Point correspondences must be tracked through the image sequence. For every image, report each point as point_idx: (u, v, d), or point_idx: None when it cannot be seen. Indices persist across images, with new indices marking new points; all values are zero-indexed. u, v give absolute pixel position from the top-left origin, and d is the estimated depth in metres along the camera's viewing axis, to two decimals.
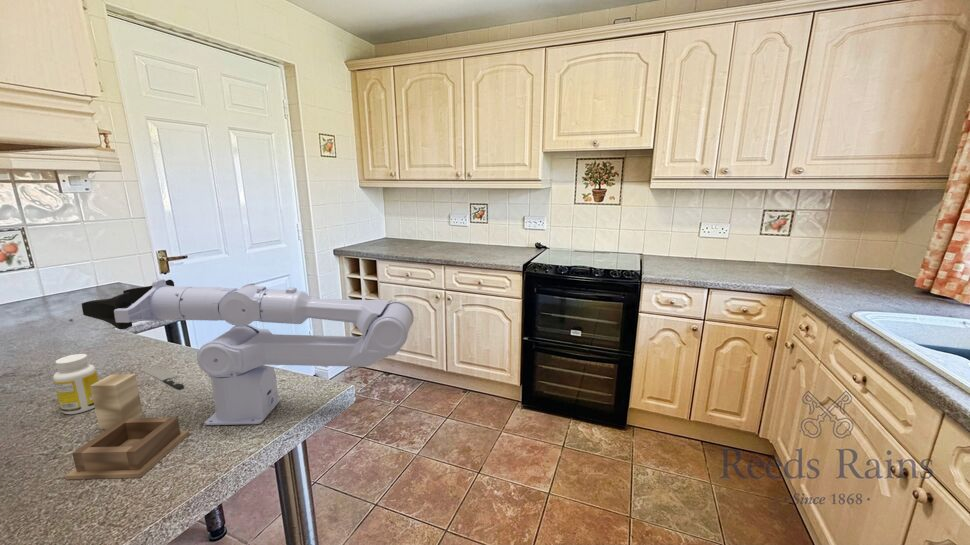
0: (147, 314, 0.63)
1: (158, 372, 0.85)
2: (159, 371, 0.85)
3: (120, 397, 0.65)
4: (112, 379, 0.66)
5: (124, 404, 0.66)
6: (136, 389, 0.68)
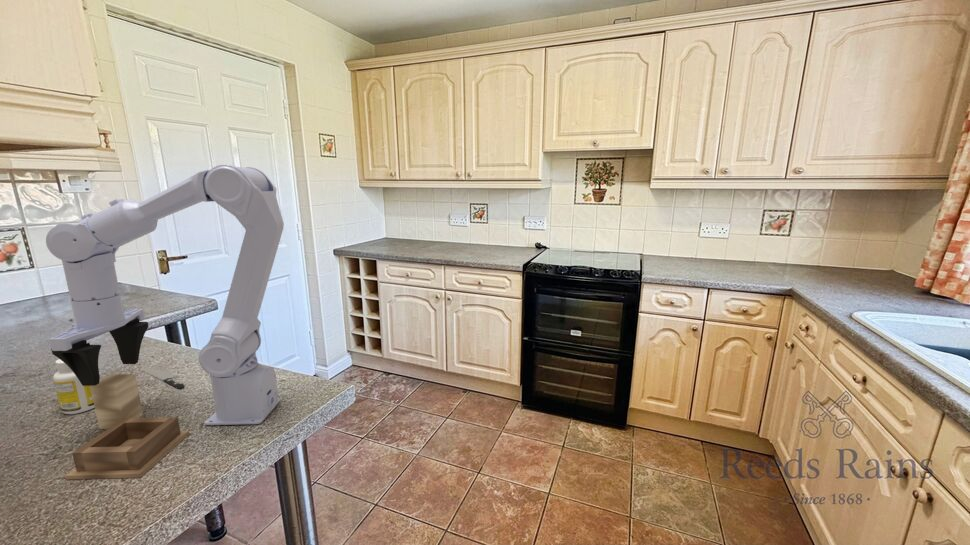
0: None
1: (158, 372, 0.85)
2: (159, 371, 0.86)
3: (120, 397, 0.65)
4: (112, 379, 0.66)
5: (124, 404, 0.66)
6: (136, 389, 0.68)
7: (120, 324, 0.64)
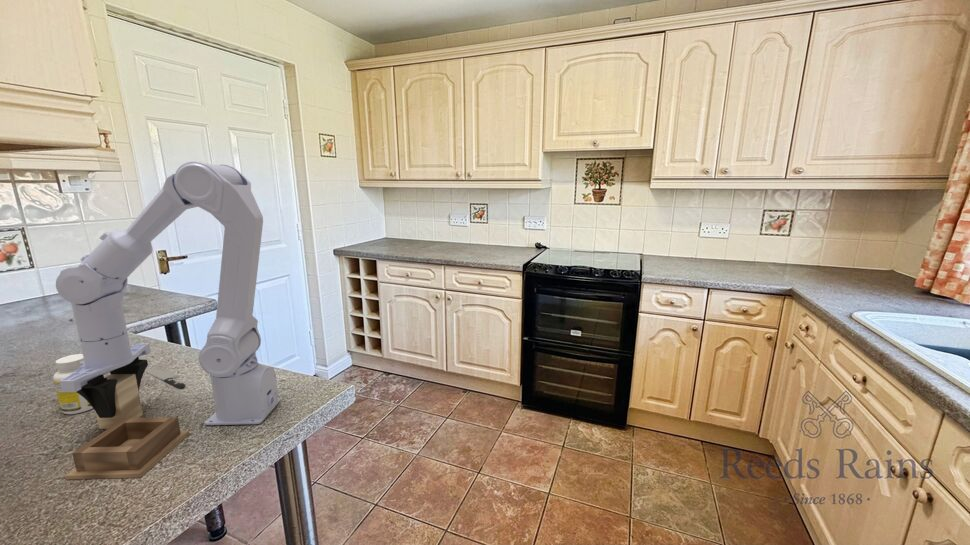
0: None
1: (159, 372, 0.85)
2: (160, 371, 0.86)
3: (120, 397, 0.65)
4: (112, 378, 0.66)
5: (124, 404, 0.66)
6: (136, 389, 0.68)
7: (127, 362, 0.65)
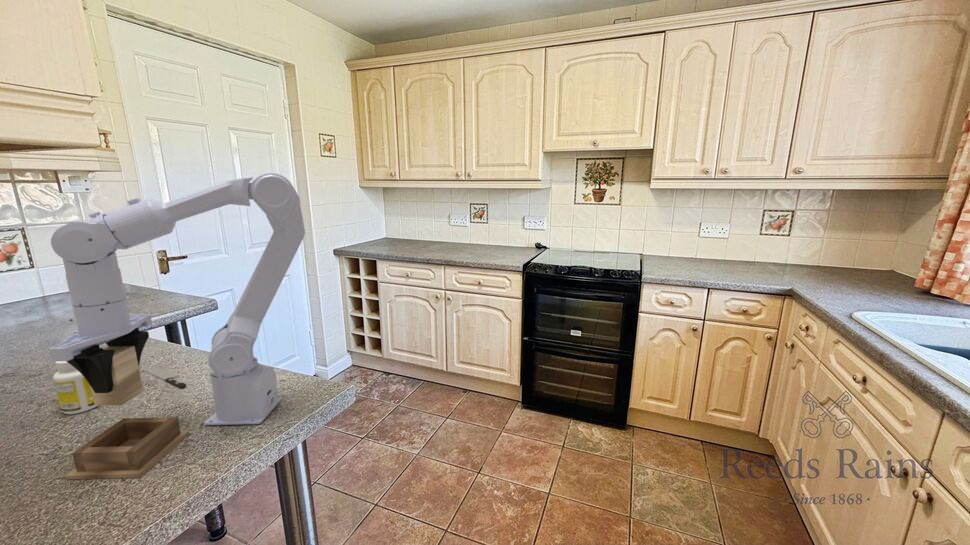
0: None
1: (160, 371, 0.85)
2: (161, 370, 0.86)
3: (117, 370, 0.58)
4: None
5: (122, 379, 0.59)
6: (135, 363, 0.62)
7: (126, 331, 0.59)
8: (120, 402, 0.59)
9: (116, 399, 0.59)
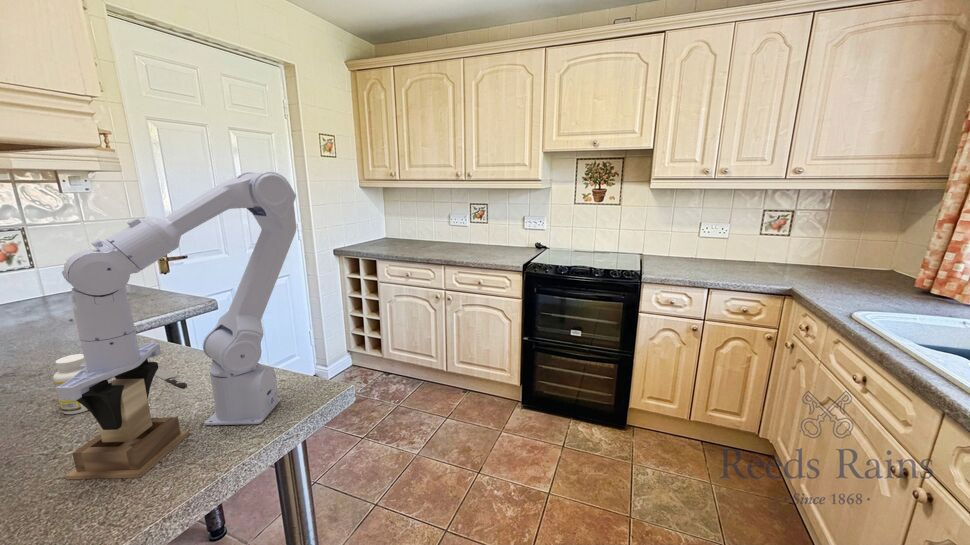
0: None
1: (160, 371, 0.85)
2: (161, 370, 0.86)
3: (127, 405, 0.56)
4: (117, 384, 0.57)
5: (131, 414, 0.57)
6: (145, 396, 0.59)
7: (135, 364, 0.56)
8: (129, 438, 0.56)
9: (125, 435, 0.56)
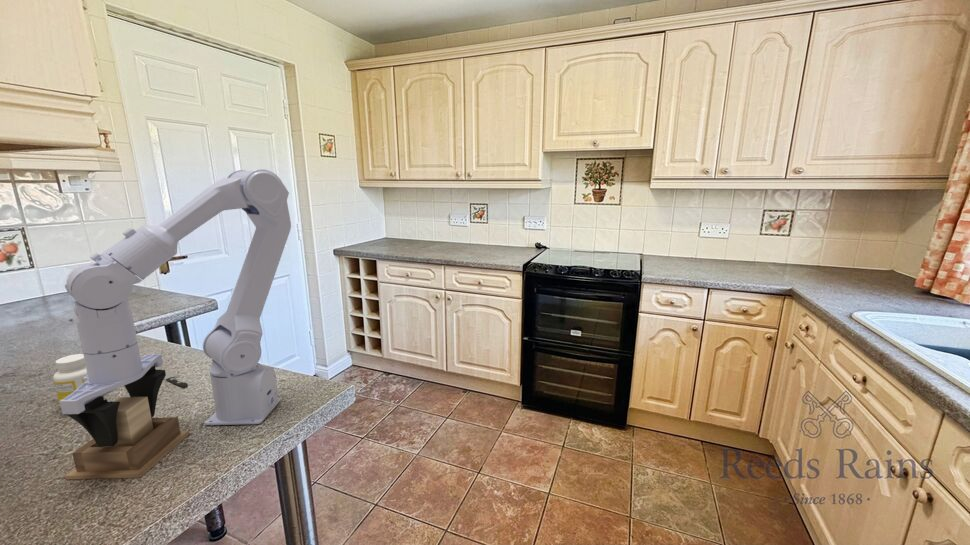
0: None
1: None
2: None
3: (131, 424, 0.57)
4: (121, 403, 0.58)
5: (135, 432, 0.57)
6: (148, 414, 0.60)
7: (138, 376, 0.56)
8: None
9: None
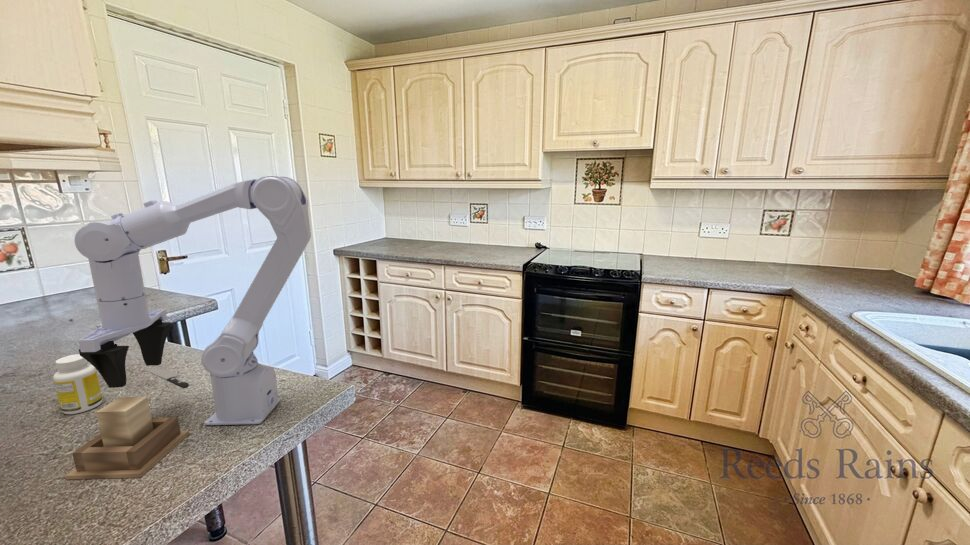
0: None
1: (161, 371, 0.85)
2: (162, 370, 0.86)
3: (131, 424, 0.57)
4: (121, 403, 0.58)
5: (135, 432, 0.57)
6: (148, 414, 0.60)
7: (146, 325, 0.63)
8: None
9: None
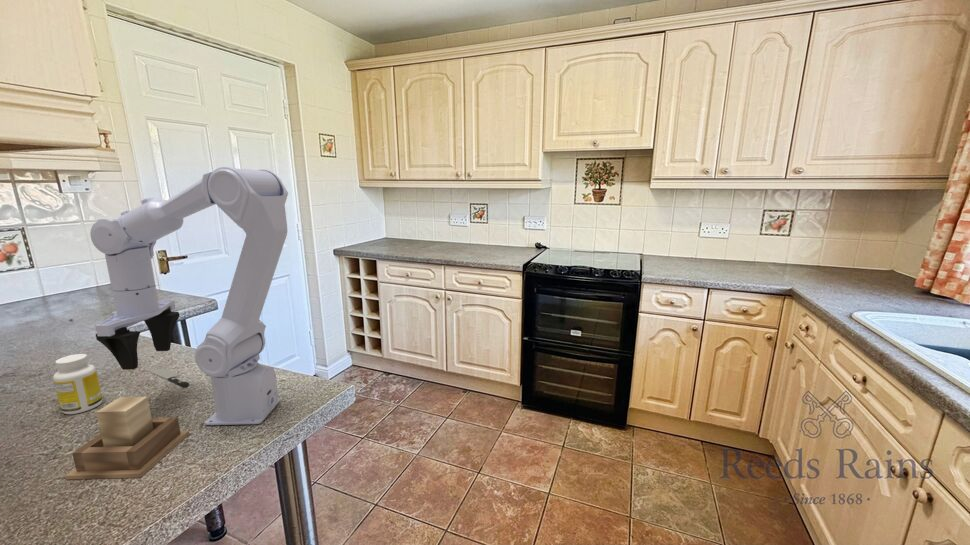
0: None
1: (162, 371, 0.86)
2: (163, 370, 0.86)
3: (131, 424, 0.57)
4: (121, 403, 0.58)
5: (135, 432, 0.57)
6: (148, 414, 0.60)
7: (156, 313, 0.69)
8: None
9: None
